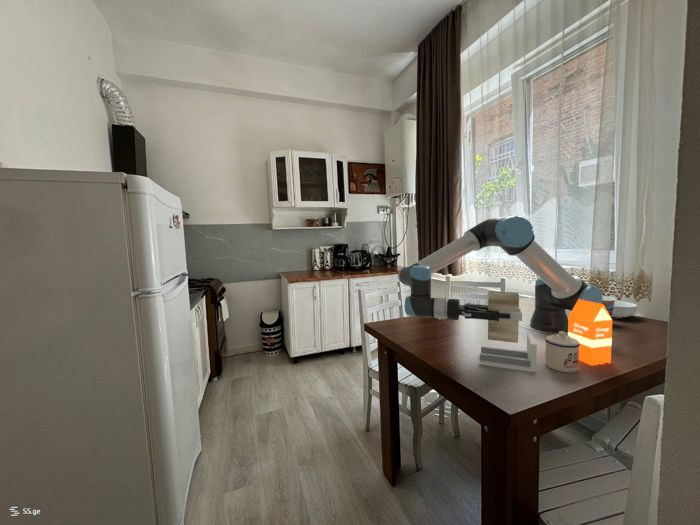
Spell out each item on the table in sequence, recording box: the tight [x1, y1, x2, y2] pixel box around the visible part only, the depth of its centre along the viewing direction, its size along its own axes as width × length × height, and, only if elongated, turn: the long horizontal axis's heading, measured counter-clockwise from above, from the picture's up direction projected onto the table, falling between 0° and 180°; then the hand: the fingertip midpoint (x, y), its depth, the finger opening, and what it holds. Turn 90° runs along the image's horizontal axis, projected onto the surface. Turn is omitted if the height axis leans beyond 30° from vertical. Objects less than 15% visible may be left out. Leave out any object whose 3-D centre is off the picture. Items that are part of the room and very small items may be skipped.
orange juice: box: [567, 299, 613, 367], centre depth 99 cm, size 8×9×20 cm
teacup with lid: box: [544, 331, 580, 374], centre depth 95 cm, size 12×9×12 cm
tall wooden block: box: [487, 290, 520, 344], centre depth 99 cm, size 4×9×16 cm, turn 64°
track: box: [479, 332, 538, 374], centre depth 99 cm, size 16×11×9 cm
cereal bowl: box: [612, 300, 638, 318], centre depth 147 cm, size 17×17×7 cm
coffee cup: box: [601, 295, 617, 319], centre depth 138 cm, size 10×10×12 cm
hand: (521, 314), depth 96 cm, fingers closed on tall wooden block, 4 cm apart
